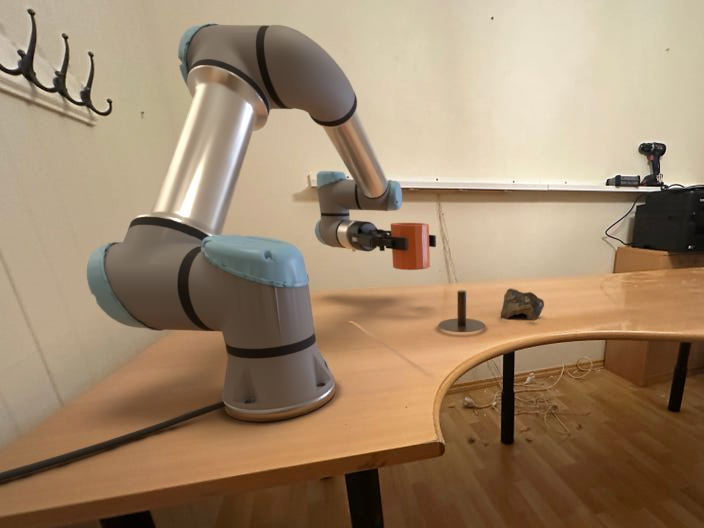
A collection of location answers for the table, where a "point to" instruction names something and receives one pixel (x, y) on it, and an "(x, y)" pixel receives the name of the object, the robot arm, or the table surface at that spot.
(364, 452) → the table surface
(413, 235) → the orange cylinder
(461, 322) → the ring stand
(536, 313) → the fossil
